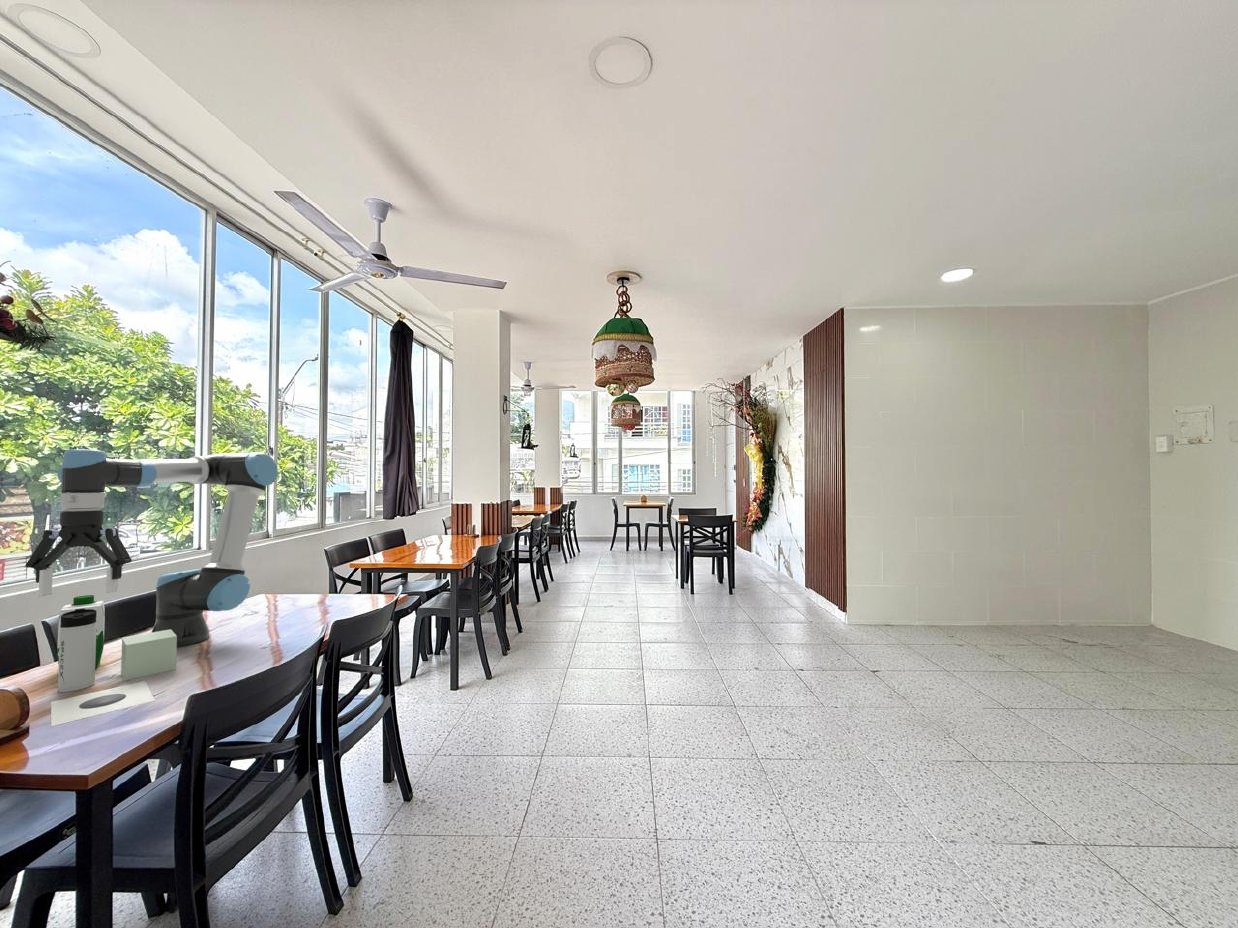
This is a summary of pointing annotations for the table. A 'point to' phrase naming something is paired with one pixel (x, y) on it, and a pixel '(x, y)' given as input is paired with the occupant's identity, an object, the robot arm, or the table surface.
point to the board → (99, 702)
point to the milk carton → (89, 603)
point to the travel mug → (77, 650)
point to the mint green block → (148, 654)
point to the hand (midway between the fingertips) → (78, 594)
